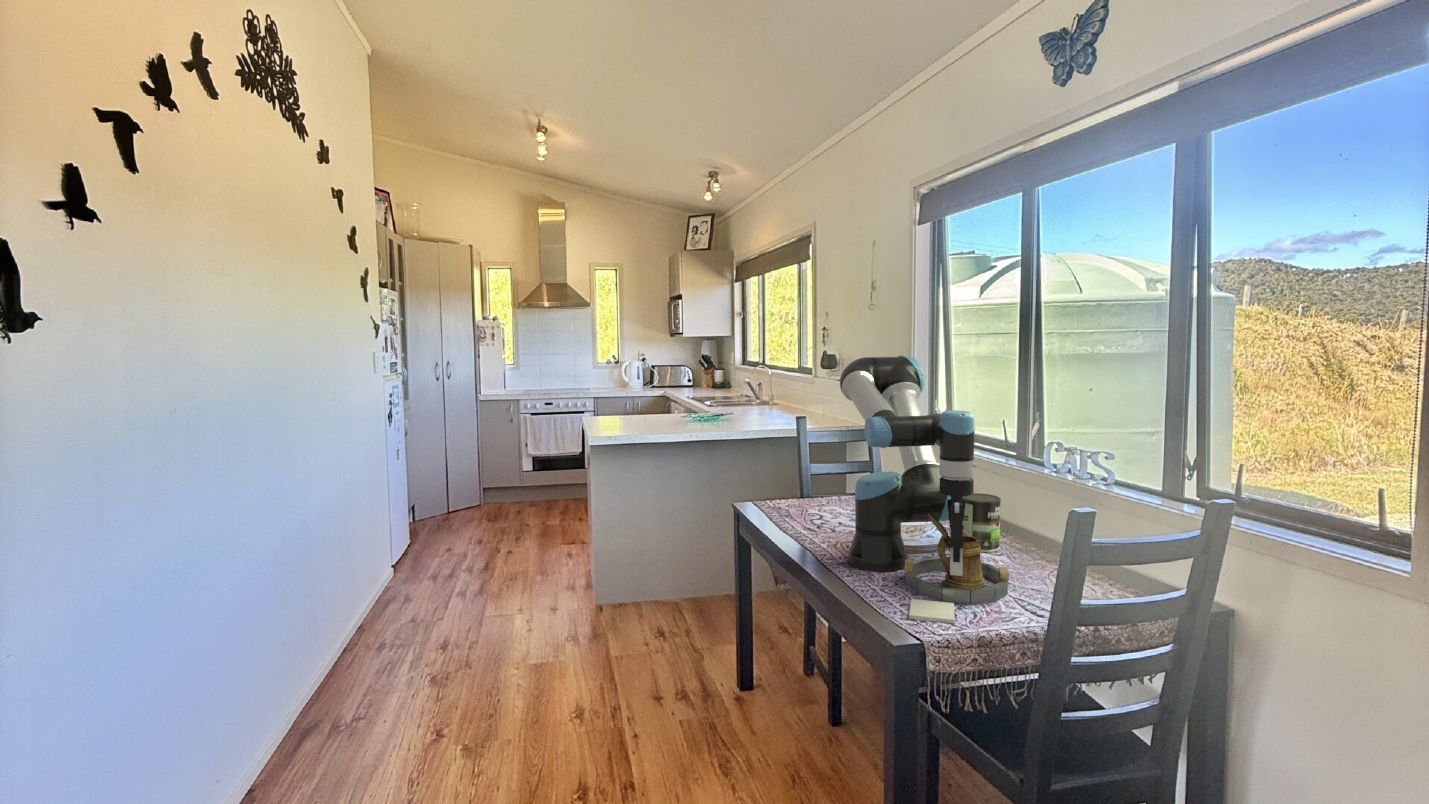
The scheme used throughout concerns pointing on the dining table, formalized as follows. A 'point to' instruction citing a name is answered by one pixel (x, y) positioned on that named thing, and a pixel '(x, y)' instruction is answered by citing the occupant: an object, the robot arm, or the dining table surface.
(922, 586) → the collar
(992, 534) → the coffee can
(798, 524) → the dining table surface
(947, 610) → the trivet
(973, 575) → the wooden mug
